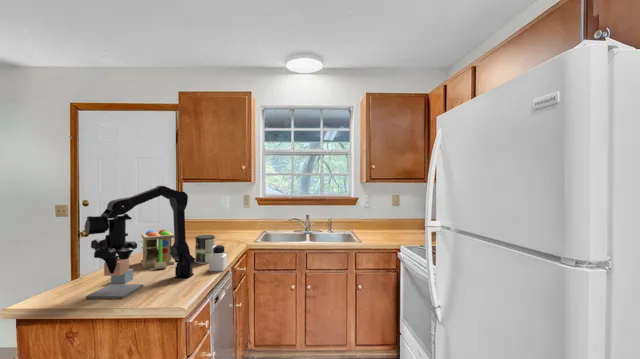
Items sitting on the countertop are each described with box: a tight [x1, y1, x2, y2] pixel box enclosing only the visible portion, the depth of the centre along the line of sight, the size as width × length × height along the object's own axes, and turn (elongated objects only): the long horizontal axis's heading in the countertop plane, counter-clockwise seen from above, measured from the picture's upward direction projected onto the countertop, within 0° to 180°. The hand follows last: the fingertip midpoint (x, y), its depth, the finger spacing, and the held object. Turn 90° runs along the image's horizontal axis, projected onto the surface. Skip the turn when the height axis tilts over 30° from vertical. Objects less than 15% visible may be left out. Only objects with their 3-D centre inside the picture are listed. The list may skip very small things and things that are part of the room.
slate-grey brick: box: [110, 268, 134, 284], centre depth 141 cm, size 6×6×5 cm
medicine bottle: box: [208, 244, 228, 272], centre depth 161 cm, size 7×7×12 cm
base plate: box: [85, 283, 145, 300], centre depth 127 cm, size 14×14×1 cm
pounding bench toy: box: [140, 229, 175, 271], centre depth 169 cm, size 23×14×18 cm, turn 36°
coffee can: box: [194, 234, 216, 265], centre depth 177 cm, size 10×10×14 cm
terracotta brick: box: [103, 258, 130, 277], centre depth 127 cm, size 6×6×5 cm
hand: (116, 270), depth 127 cm, fingers closed on terracotta brick, 6 cm apart
